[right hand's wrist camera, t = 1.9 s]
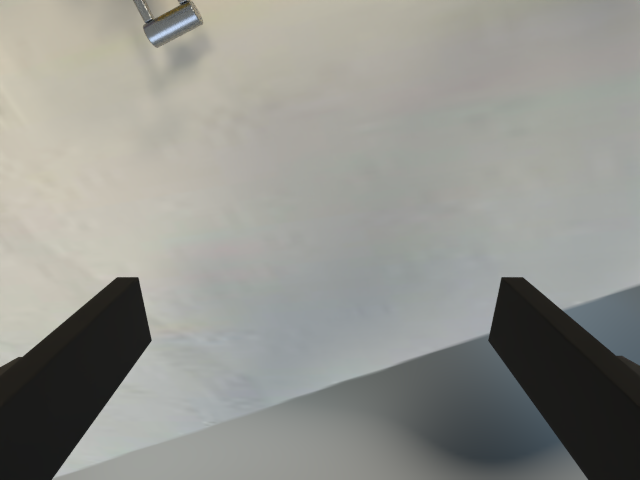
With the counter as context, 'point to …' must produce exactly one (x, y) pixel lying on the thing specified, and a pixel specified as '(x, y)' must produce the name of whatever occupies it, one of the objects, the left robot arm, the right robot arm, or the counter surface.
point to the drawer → (169, 21)
